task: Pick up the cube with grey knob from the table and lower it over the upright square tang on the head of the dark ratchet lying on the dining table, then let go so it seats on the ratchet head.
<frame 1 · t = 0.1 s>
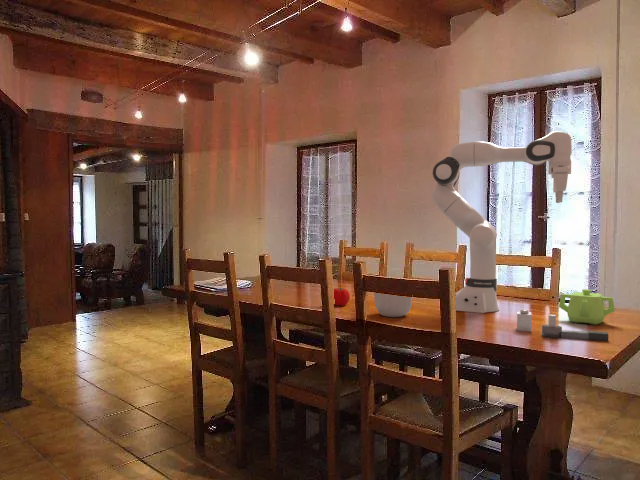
hand: (558, 202, 225), 48 cm above the table, fingers open, 8 cm apart
teapot: (585, 323, 210), on the table
tomato: (340, 305, 250), on the table
ratchet: (551, 336, 186), on the table
white rounded bowl: (393, 315, 225), on the table
cube with grey knob: (524, 329, 197), on the table
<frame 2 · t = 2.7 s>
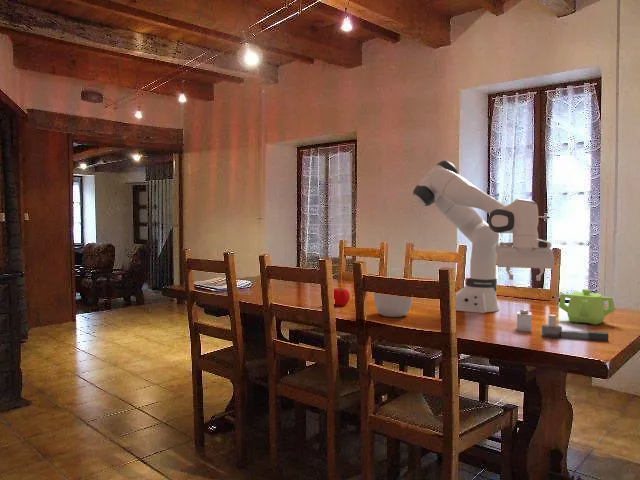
hand: (524, 279, 196), 19 cm above the table, fingers open, 8 cm apart
nothing on the table moved.
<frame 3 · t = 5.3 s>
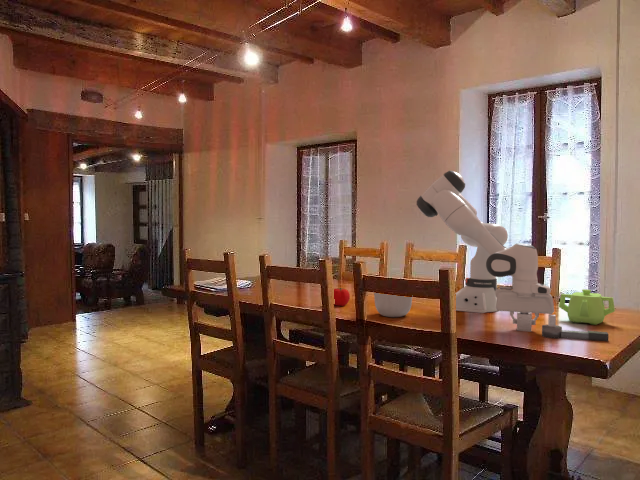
hand: (524, 324, 197), 2 cm above the table, fingers closed on cube with grey knob, 5 cm apart
cube with grey knob: (524, 329, 197), on the table, touching gripper
everything else where it was.
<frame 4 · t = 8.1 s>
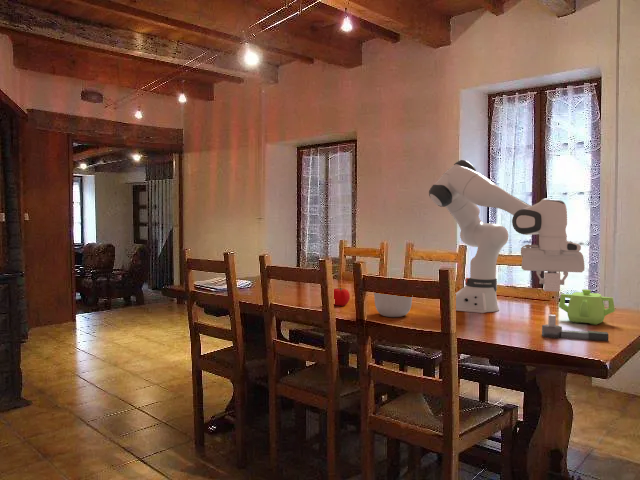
hand: (551, 284, 185), 18 cm above the table, fingers closed on cube with grey knob, 5 cm apart
cube with grey knob: (551, 290, 185), point 16 cm above the table, touching gripper
everything else where it was.
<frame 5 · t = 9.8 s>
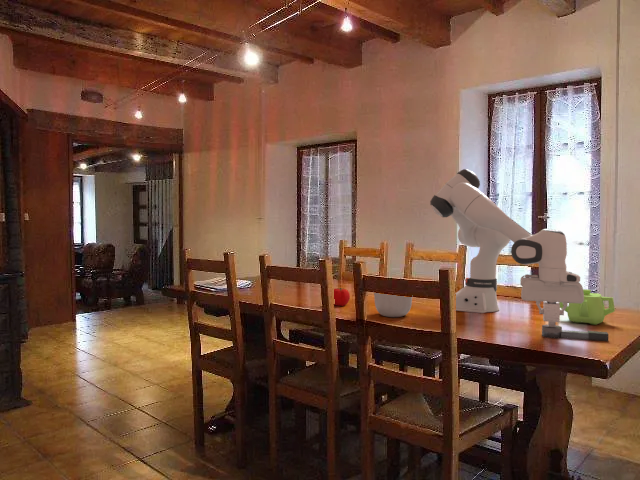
hand: (551, 314, 186), 8 cm above the table, fingers closed on cube with grey knob, 5 cm apart
cube with grey knob: (551, 320, 186), point 6 cm above the table, touching gripper
everything else where it was.
when the fingers open (7 cm above the table, at t = 10.9 s): cube with grey knob stays where it is, resting on ratchet.
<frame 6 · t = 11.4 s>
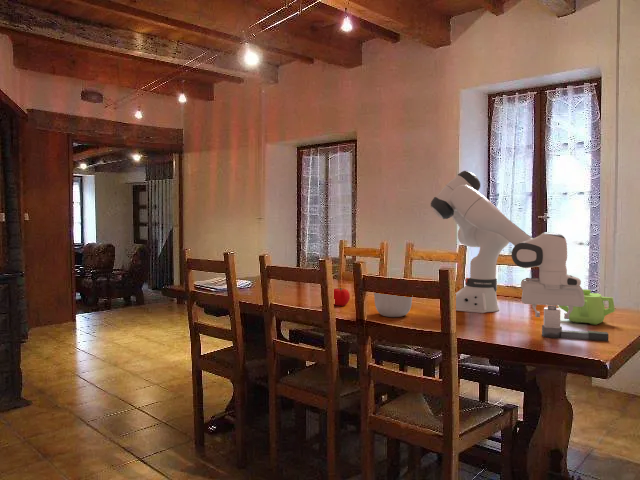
hand: (551, 317, 186), 7 cm above the table, fingers open, 8 cm apart
cube with grey knob: (551, 326, 186), point 3 cm above the table, touching ratchet
everything else where it was.
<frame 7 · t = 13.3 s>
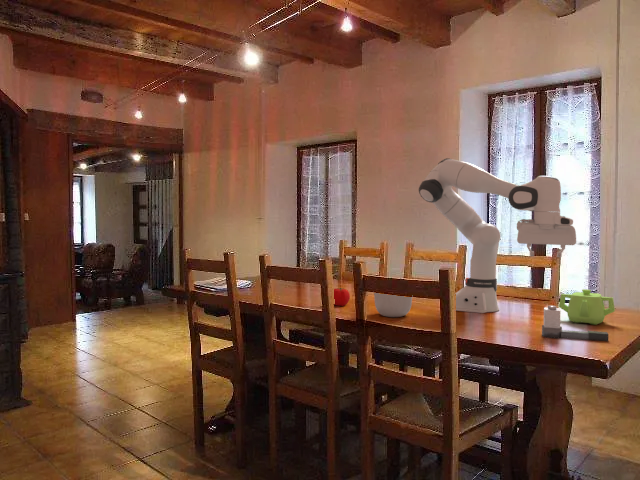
hand: (545, 256, 197), 27 cm above the table, fingers open, 8 cm apart
nothing on the table moved.
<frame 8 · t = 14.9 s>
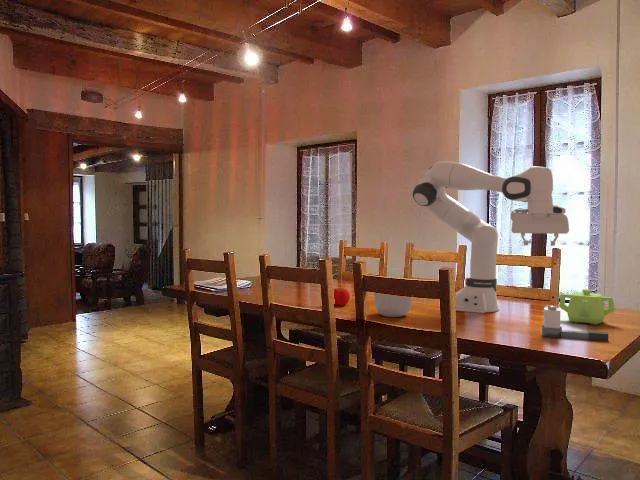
hand: (539, 245, 201), 31 cm above the table, fingers open, 8 cm apart
nothing on the table moved.
at the end: cube with grey knob 0.1 cm off-centre on the ratchet, point 3.5 cm above the ratchet's base; cube with grey knob tilted 0°; the gripper is holding nothing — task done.
